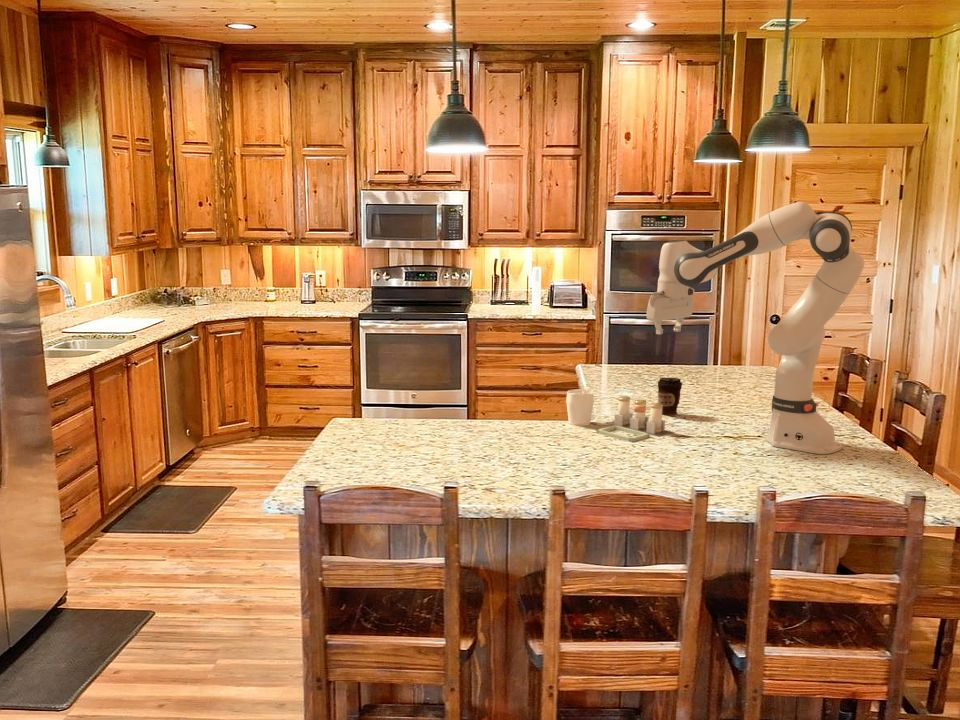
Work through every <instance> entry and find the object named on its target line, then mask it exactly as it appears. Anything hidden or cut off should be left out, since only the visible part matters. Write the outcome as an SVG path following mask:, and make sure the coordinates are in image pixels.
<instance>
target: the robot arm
mask: <svg viewBox="0 0 960 720" xmlns="http://www.w3.org/2000/svg"><path fill="white" fill-rule="evenodd" d="M852 235H853V224H852V223H851V220H850V219H849V218H848V217H847V216H846V215H845V214H842V213H840V212H837V211H836V212H835V211H834V212H833V211H817V212H815V210H814V209H813V207H811V205H810V204H808V203H807V202H805V201H796V202H792V203H789V204H786V205H784V206H781V207H779V208H776V209H774V210H772V211H770V212H768V213H766V214H764V215H762V216H761V217H759V218H757V219H756V220H755V221H753V222H752V223H750V224H749V225H747V227H745V228H743V229H742V230H741V231H739V232H738V233H737V234H735V235H734V236H732V237H731V238H729V239H727V240H724V241H722V242H721V243H719V244H716V245H715V246H712V247H710V248H708V249H706V250H702V249H698V248H697V247H695V246H694V245H692V244H690V243H689V242H688V241H687V240H685V239H675V240H670V241H667V242H665V243H663V244H662V247H661V249H660V254H659V255H660V256H659V261H658V262H659V263H658V269H659V277H658V279H657V291H654V292H652V294H651V295H650V297H649V299H648V303H647V308H646V316H645V317H646V319H647V321H650V322H653V325H654V328H655V335H663V334H664V332H663V331H664V328H662V324H663V322H664V321H668V320H670V321H671V320H675V321H676V322H675V325H673V332H675V333H679V332H681V327H682V325H683V323H684V321H685V318H690V317H691V316H692V315H693V310H694V297H693V296H694V295H695V292H696V291H695V289H694V288H693V287H694V286H697V285H699V284H701V283H706V282H708V281H710V280H711V279H714V277H715V276H716V274H717V273H718V269H719V268H721V267H723V266H725V265H727V264H728V263H731V262H733V261H736V260H739V259H741V258H744V257H745V258H746V257H748V256H749V257H750V256H756V255H761V254H766V253H770V252H774V251H777V250H779V249H782V248H784V247H786V246H788V245H790V244H792V243H793V242H797V241H798V240H809V243H810V246H811V248H812V249H813V250H814V252H815V253H816V254H818V256H820V258H821V259H822V260H823V263H822V265H821V266H820V268H819V269H818V271H817V272H816V274H815V275H814V276H813V278H812V279H811V281H810V283H809V284H808V285H807V287H806V288H805V290H804V292H802V295H801V296H800V297H799V298H798V299H797V300H796V302H795V303H793V305H792V306H791V307H790V308H789V309H788V310H787V311H786V312H785V314H784V315H783V316H782V318H781V319H780V320H779V321H778V322H777V324H775V325H774V326H773V327H772V329H771V330H770V331H769V333H768V337H767V342H768V346H769V348H770V349H771V351H773V352H774V353H776V354H777V355H779V356H781V358H780V361H779V364H778V367H777V368H776V370H775V374H774V375H775V379H774V390H773V391H774V392H773V395H772V400H771V412H772V413H771V420H770V422H769V428H768V431H767V433H766V437H765V441H767V442H769V443H770V445H771V446H772V447H776V448H782V449H787V450H793V451H794V450H795V451H799V452H805V453H812V454H816V455H828V454H833V453H836V452H839V451H840V450H843V444H842V443H841V442H839V441H836V436H835V435H836V433H835V430H834V427H833V425H831V424H830V423H829V422H828V421H827V420H826V419H825V418H824V417H823V416H821V415H820V413H818V412H817V407H819V406H820V402H815V401H814V399H813V398H812V397H813V387H814V386H813V385H814V377H815V376H814V375H815V370H816V366H817V361H818V358H819V356H820V351H821V346H822V344H823V341H824V340H825V337H826V328H825V325H827V323H828V322H829V321H830V320H831V319H832V318H834V316H835V315H836V314H837V312H838V310H839V309H841V306H842V305H843V304H844V303H845V301H846V300H847V298H848V296H849V295H850V294H851V292H852V291H853V289H854V288H855V286H856V284H857V282H858V281H859V279H860V277H861V274H862V272H863V271H864V267H865V261H864V258H863V257H862V255H861V254H860V253H859V252H857V251H856V250H854V249H853V248H852V247H851V244H850V243H851V240H852Z"/></svg>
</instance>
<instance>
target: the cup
mask: <svg viewBox="0 0 960 720" xmlns="http://www.w3.org/2000/svg"><path fill="white" fill-rule="evenodd" d="M594 402H595V399H594V391H593V390H588V389H585V388H584V389H583V388H582V389H581V388H580V389H579V388H576V389H569V390H567V391H566V400H565V403H566V408H567V417H568V424H569V425H572V426H580V427H582V426H589V425H591V419H592V413H593V408H594Z"/></svg>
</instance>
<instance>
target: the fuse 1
mask: <svg viewBox="0 0 960 720" xmlns="http://www.w3.org/2000/svg"><path fill="white" fill-rule="evenodd" d="M630 401H631V397H630V396H628V395H627V396H626V395H625V396H624V395H621V396H618V409H617V410H618V411H617V412H618V413H617V414H619V415H623V425H629V412H630V408H631V407H630V403H631V402H630Z"/></svg>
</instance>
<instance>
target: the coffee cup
mask: <svg viewBox="0 0 960 720" xmlns="http://www.w3.org/2000/svg"><path fill="white" fill-rule="evenodd" d="M681 381H682V380H681V379H680V378H678V377H659V380H658V382H657V388H658V391H657V398H658V399H657V400H658V401H657V403H660V404H663V408H662V416H666V417H676V416H678V406H679V404H680V399H681V390H682V386H683V383H682V382H681Z"/></svg>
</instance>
